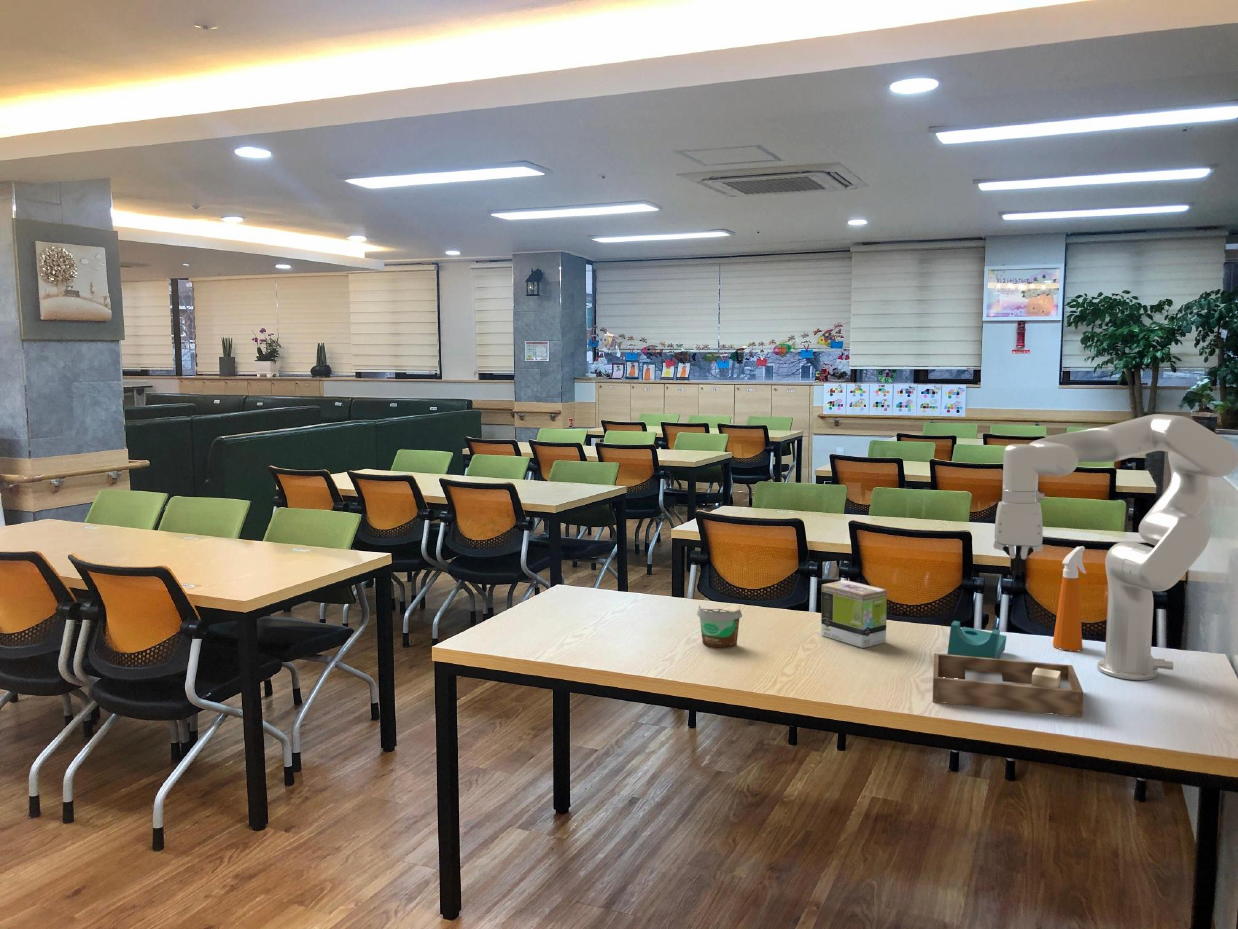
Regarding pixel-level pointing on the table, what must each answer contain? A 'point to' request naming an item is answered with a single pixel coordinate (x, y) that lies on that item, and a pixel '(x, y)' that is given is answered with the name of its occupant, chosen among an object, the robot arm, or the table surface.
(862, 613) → the tea box
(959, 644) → the teal l-shaped bracket
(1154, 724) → the table surface
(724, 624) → the food container
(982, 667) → the box
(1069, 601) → the spray bottle
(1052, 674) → the block
